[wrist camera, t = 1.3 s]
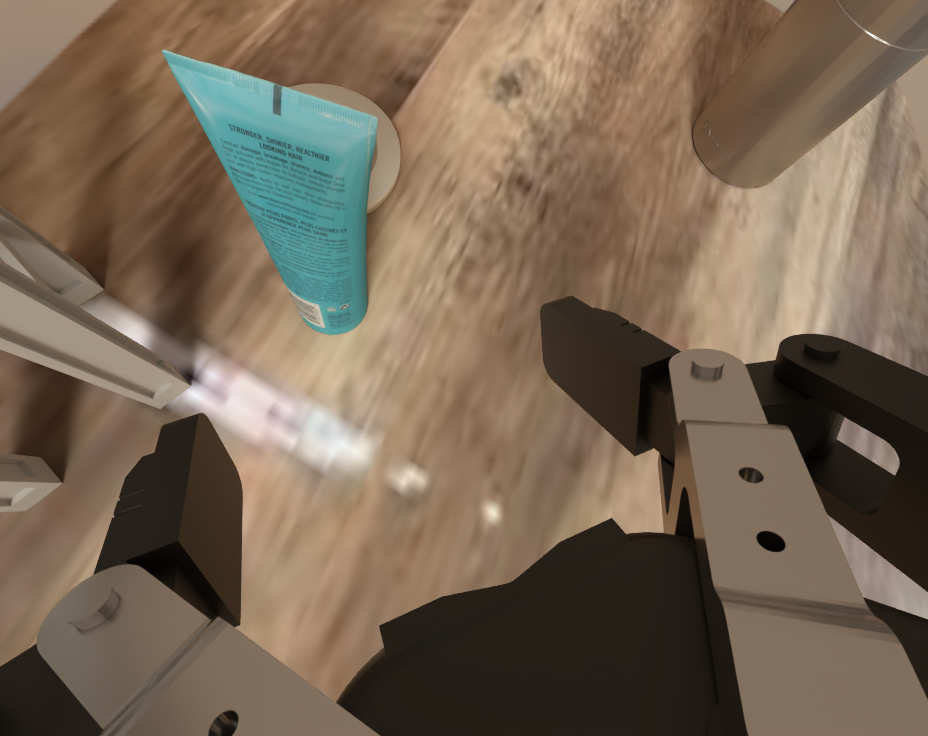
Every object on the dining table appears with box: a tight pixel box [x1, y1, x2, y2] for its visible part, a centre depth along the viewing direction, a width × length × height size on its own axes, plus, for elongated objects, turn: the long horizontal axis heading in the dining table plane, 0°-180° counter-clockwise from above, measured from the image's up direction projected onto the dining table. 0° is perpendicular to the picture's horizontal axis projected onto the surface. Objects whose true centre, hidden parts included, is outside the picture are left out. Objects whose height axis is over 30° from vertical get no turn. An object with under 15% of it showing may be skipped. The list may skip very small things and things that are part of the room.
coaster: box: [288, 83, 401, 215], centre depth 37 cm, size 12×12×1 cm
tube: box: [162, 50, 378, 335], centre depth 25 cm, size 7×5×19 cm, turn 82°
